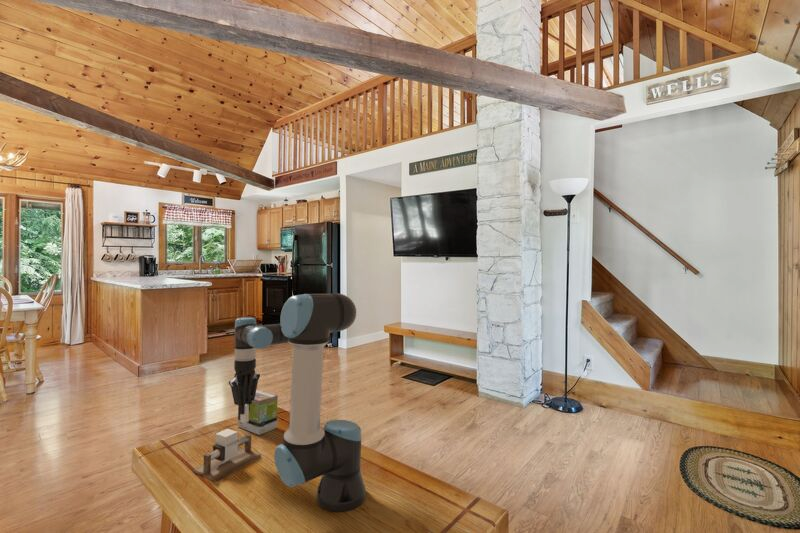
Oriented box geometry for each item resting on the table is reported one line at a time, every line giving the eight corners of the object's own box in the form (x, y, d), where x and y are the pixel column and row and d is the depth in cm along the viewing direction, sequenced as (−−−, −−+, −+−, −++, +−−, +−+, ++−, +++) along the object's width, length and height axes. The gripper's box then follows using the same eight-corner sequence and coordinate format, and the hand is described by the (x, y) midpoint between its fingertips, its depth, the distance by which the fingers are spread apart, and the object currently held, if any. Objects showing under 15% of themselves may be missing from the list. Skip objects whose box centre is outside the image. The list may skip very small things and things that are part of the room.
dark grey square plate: (224, 459, 134) (224, 446, 134) (221, 461, 133) (222, 448, 133) (215, 456, 136) (216, 443, 136) (212, 458, 135) (213, 445, 135)
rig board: (260, 456, 144) (261, 437, 144) (216, 481, 127) (217, 460, 127) (238, 449, 149) (238, 430, 149) (193, 472, 132) (193, 451, 132)
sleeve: (237, 455, 138) (237, 431, 138) (225, 461, 134) (225, 437, 134) (226, 451, 141) (227, 428, 141) (214, 457, 136) (215, 433, 136)
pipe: (249, 443, 145) (249, 435, 145) (211, 462, 130) (212, 454, 130) (243, 441, 146) (243, 434, 146) (206, 460, 132) (206, 452, 132)
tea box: (277, 427, 170) (278, 394, 170) (258, 436, 161) (259, 401, 161) (256, 419, 178) (256, 388, 178) (236, 427, 169) (237, 394, 169)
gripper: (251, 354, 151) (250, 414, 151) (223, 361, 140) (222, 426, 139) (265, 356, 148) (264, 417, 148) (238, 363, 136) (237, 430, 136)
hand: (244, 421), depth 144 cm, fingers closed
